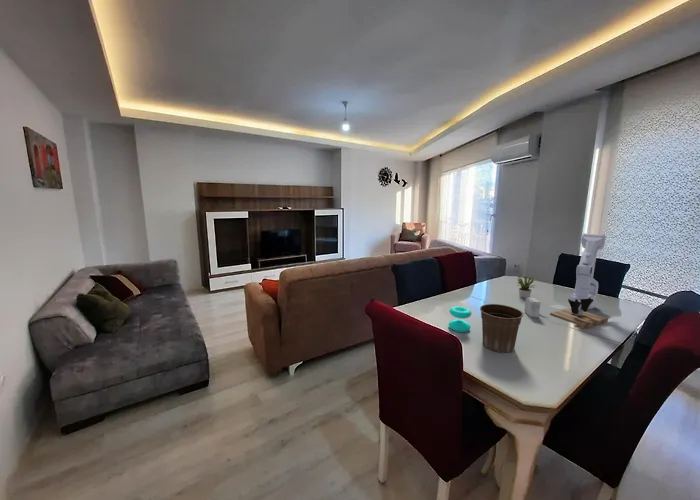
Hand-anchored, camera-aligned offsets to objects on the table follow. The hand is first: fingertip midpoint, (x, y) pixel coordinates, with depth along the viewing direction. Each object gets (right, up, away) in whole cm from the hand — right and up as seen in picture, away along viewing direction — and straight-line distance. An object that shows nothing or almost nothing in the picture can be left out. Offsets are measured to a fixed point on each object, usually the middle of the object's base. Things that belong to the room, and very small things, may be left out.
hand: (579, 312), depth 151 cm
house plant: (-7, +1, +34) cm, 35 cm away
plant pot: (-57, -9, -27) cm, 63 cm away
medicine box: (-20, -3, +8) cm, 22 cm away
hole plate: (0, -4, +1) cm, 4 cm away
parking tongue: (+1, -2, +16) cm, 16 cm away
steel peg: (0, -4, +1) cm, 4 cm away
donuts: (-67, -6, -10) cm, 68 cm away
